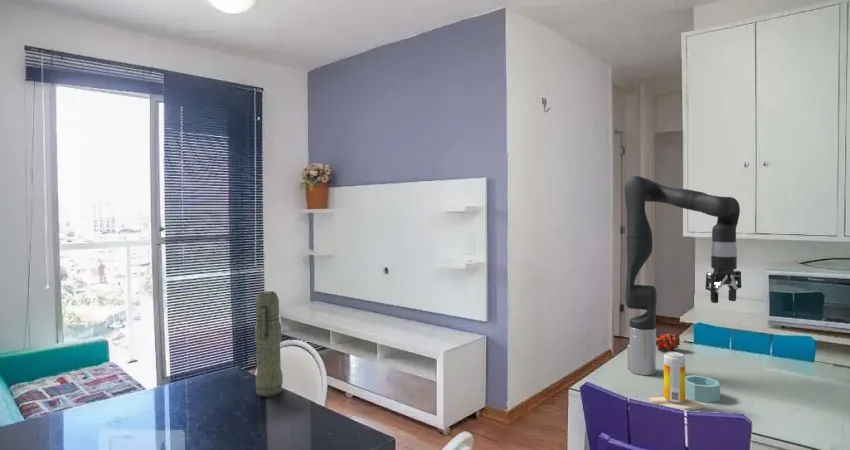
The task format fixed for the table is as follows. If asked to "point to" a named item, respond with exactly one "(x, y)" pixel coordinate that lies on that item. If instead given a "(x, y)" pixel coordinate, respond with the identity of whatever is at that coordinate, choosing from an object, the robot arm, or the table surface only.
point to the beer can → (674, 377)
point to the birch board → (685, 405)
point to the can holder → (702, 388)
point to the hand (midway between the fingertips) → (723, 301)
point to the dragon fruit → (667, 342)
